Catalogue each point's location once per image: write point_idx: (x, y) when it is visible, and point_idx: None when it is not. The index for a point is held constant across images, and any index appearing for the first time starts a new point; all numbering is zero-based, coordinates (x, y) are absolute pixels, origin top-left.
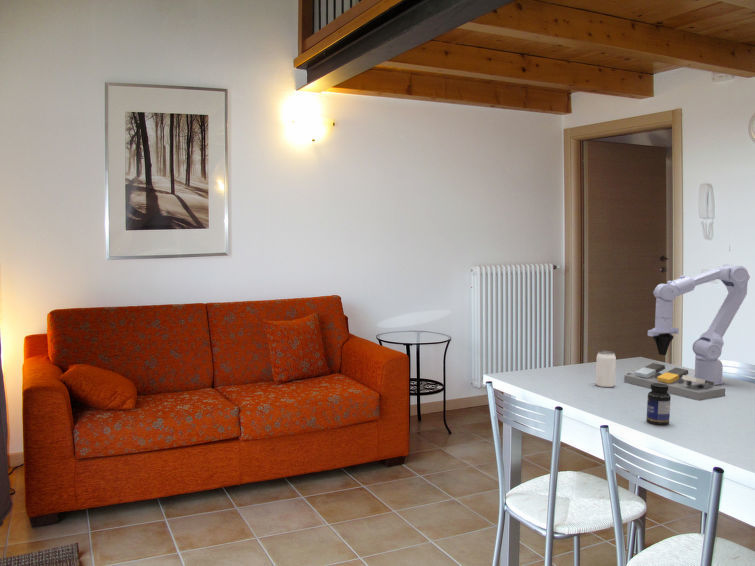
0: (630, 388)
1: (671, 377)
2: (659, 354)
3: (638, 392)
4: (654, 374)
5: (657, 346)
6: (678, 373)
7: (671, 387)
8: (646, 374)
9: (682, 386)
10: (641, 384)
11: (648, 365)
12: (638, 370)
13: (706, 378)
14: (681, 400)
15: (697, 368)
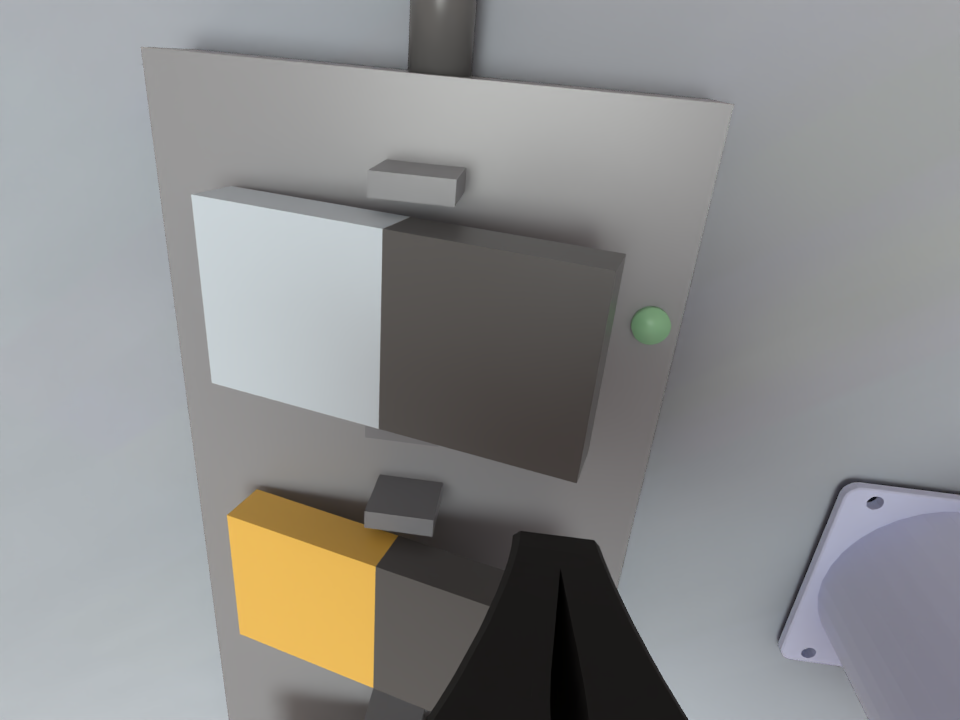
0: (39, 299)
1: (288, 640)
2: (511, 547)
3: (9, 426)
4: None
5: (466, 666)
6: (400, 681)
7: (222, 625)
8: (215, 382)
9: (301, 681)
10: None
11: (473, 259)
12: (248, 220)
13: (847, 676)
14: (153, 692)
15: (909, 690)
